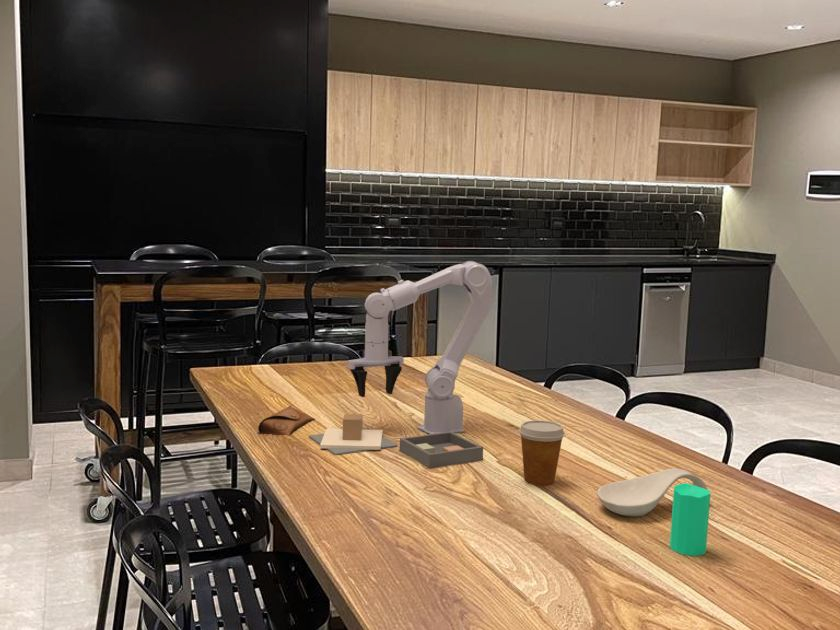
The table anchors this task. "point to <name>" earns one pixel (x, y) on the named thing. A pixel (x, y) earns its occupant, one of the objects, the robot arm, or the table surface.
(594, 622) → the table surface
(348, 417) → the lid
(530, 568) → the table surface
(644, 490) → the spoon rest
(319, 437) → the slate mat
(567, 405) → the table surface
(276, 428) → the sunglasses case
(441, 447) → the storage box
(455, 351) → the robot arm
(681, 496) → the candle
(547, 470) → the disposable coffee cup
